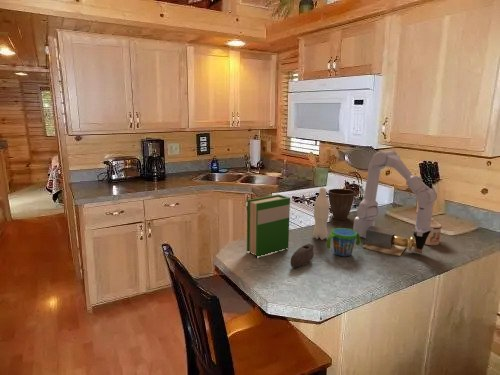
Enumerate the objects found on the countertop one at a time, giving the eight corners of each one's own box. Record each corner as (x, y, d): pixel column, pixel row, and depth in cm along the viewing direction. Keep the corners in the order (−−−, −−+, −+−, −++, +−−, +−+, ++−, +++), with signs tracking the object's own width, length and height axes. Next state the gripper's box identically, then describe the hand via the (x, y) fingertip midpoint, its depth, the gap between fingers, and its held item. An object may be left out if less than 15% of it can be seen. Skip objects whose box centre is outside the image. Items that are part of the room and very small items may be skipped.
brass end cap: (384, 247, 156) (386, 231, 154) (388, 243, 161) (389, 227, 159) (421, 255, 147) (423, 238, 146) (423, 250, 152) (425, 234, 151)
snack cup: (353, 247, 157) (354, 226, 155) (365, 257, 147) (367, 234, 145) (321, 250, 154) (322, 228, 152) (331, 260, 144) (332, 237, 142)
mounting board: (362, 247, 158) (362, 246, 157) (371, 238, 169) (371, 237, 169) (400, 256, 149) (400, 254, 149) (406, 246, 160) (407, 245, 160)
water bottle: (311, 239, 167) (313, 189, 162) (314, 234, 174) (316, 186, 168) (326, 241, 165) (329, 190, 159) (328, 236, 171) (331, 187, 166)
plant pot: (321, 216, 204) (323, 189, 201) (341, 213, 211) (342, 187, 207) (338, 223, 191) (340, 195, 188) (358, 219, 198) (360, 192, 195)
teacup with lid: (432, 247, 159) (435, 223, 156) (414, 241, 166) (416, 217, 164) (446, 242, 165) (450, 219, 163) (428, 236, 173) (431, 214, 170)
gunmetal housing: (365, 244, 160) (366, 229, 159) (369, 239, 166) (371, 225, 164) (390, 249, 154) (391, 234, 153) (393, 244, 160) (395, 230, 158)
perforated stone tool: (296, 272, 133) (296, 255, 132) (285, 268, 137) (285, 251, 135) (316, 260, 144) (317, 244, 143) (306, 256, 148) (306, 241, 146)
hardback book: (257, 258, 145) (257, 203, 140) (246, 253, 151) (247, 199, 146) (288, 249, 155) (290, 197, 150) (277, 244, 161) (278, 194, 156)
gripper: (431, 223, 139) (427, 254, 142) (437, 214, 150) (433, 244, 153) (412, 220, 143) (409, 250, 146) (419, 212, 154) (415, 240, 157)
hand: (420, 247), depth 150 cm, fingers closed on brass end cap, 4 cm apart
